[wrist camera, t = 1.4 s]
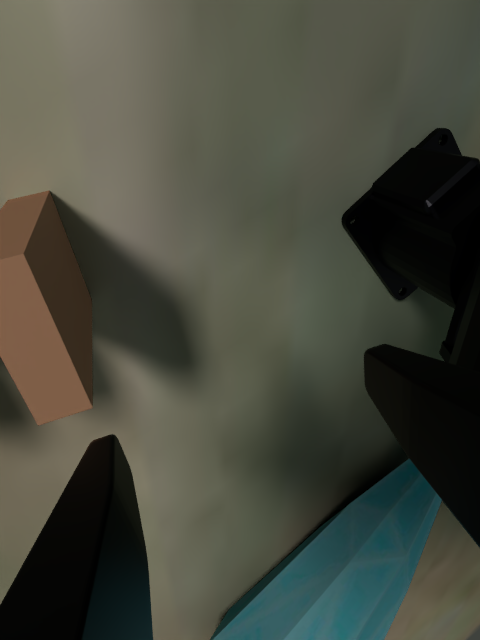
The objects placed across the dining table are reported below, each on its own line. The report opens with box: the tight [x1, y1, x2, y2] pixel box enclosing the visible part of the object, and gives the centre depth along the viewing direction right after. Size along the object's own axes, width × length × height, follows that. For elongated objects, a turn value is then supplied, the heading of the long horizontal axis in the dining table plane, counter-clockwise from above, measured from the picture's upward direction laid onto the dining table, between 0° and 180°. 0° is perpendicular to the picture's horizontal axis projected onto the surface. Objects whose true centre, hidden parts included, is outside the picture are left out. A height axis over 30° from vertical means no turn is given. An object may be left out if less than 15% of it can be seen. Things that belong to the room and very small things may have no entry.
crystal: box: [210, 459, 442, 640], centre depth 30 cm, size 10×34×10 cm, turn 139°
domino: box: [0, 191, 93, 426], centre depth 15 cm, size 2×5×8 cm, turn 10°
